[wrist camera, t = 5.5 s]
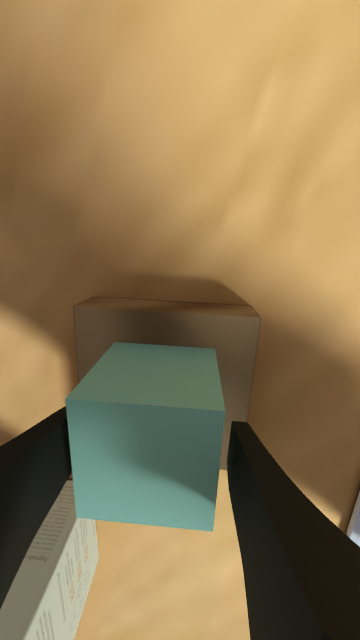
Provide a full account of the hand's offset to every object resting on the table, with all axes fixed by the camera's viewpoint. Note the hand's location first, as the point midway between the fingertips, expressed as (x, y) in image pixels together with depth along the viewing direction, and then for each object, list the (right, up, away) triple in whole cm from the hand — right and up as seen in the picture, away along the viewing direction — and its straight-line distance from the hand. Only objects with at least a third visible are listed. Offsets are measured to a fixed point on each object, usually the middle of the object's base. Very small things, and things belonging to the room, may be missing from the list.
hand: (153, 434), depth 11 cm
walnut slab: (0, +2, +6) cm, 6 cm away
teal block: (0, +1, +3) cm, 3 cm away
